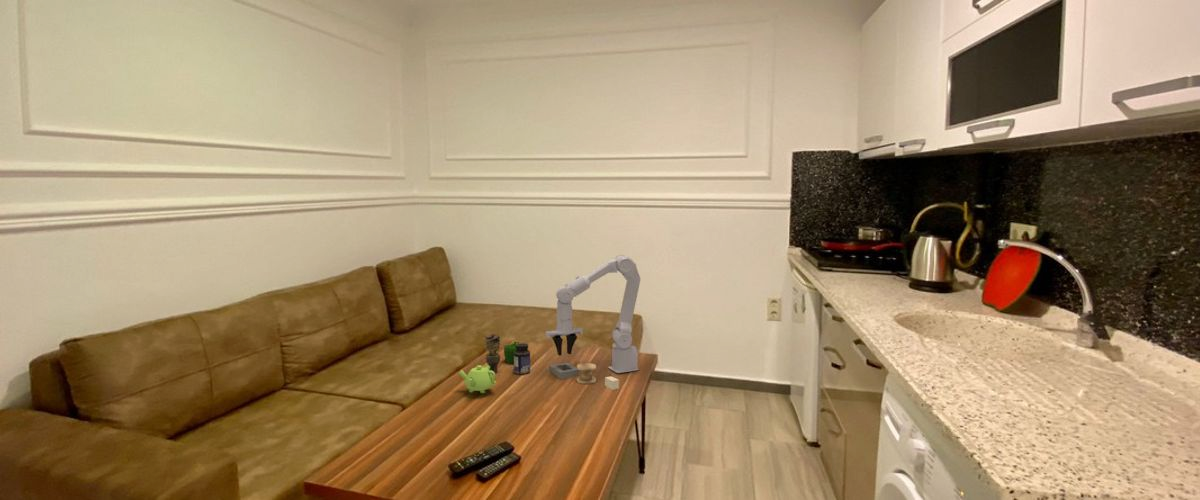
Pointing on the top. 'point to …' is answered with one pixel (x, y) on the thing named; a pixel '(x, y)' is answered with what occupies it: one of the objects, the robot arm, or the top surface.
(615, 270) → the robot arm
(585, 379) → the bobbin
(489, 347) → the dark carved statue
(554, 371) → the board with rectangular hole
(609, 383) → the rectangular block
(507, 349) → the bell pepper
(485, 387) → the teapot
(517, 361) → the pill bottle
